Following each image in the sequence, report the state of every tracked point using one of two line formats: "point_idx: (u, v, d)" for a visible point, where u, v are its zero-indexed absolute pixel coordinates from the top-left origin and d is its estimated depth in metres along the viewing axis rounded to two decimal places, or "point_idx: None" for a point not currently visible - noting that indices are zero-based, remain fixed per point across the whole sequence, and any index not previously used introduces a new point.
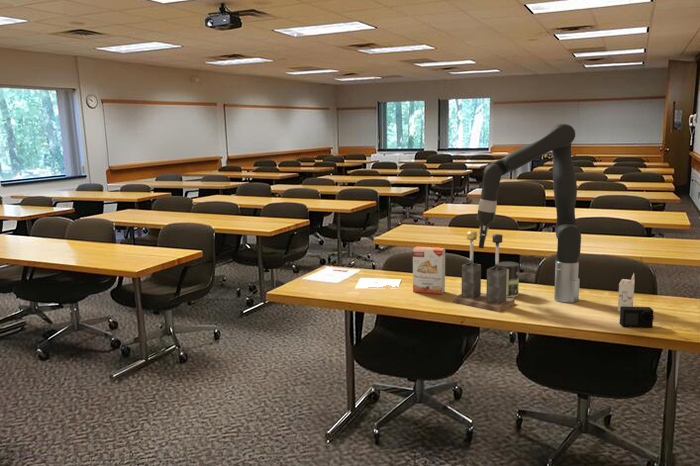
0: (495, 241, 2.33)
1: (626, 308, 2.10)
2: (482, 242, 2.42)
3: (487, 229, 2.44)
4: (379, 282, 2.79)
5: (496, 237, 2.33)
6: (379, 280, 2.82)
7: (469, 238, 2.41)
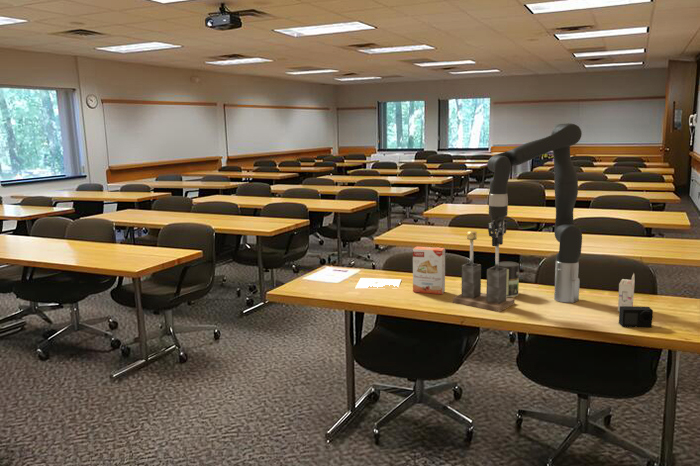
0: None
1: (625, 308, 2.11)
2: (494, 240, 2.32)
3: (498, 225, 2.31)
4: (379, 282, 2.79)
5: None
6: (379, 280, 2.82)
7: (469, 238, 2.41)
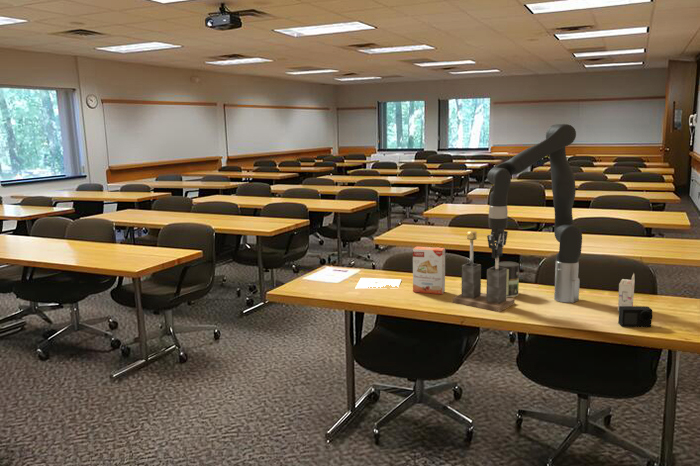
0: None
1: (625, 308, 2.11)
2: (494, 251, 2.33)
3: (498, 237, 2.32)
4: (379, 282, 2.79)
5: None
6: (379, 280, 2.82)
7: (469, 238, 2.41)
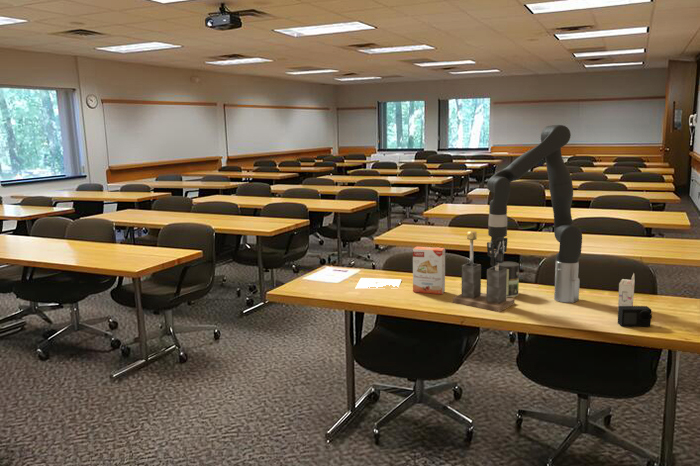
0: None
1: (624, 308, 2.11)
2: (492, 259, 2.33)
3: (497, 245, 2.32)
4: (379, 282, 2.79)
5: (496, 256, 2.34)
6: (379, 280, 2.82)
7: (469, 238, 2.41)
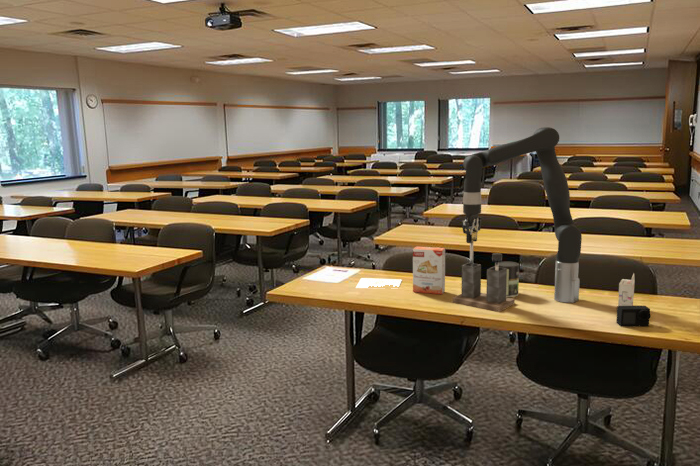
0: (495, 260, 2.35)
1: (623, 307, 2.11)
2: (468, 237, 2.40)
3: (472, 223, 2.39)
4: (380, 282, 2.79)
5: (496, 256, 2.34)
6: (379, 280, 2.82)
7: None
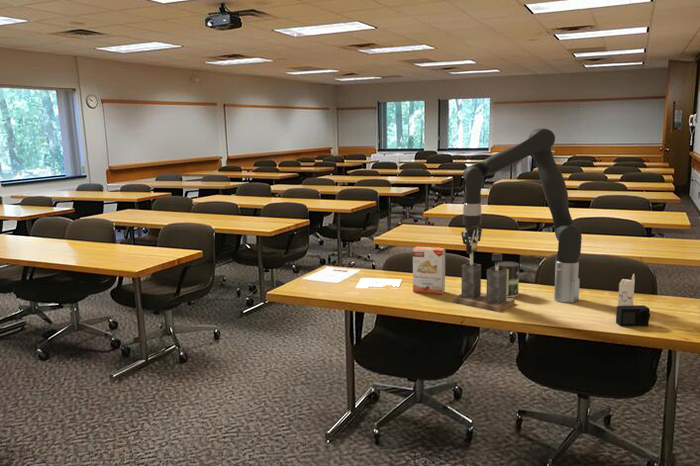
0: (495, 260, 2.35)
1: (623, 307, 2.11)
2: (468, 247, 2.41)
3: (472, 234, 2.40)
4: (380, 282, 2.79)
5: (496, 256, 2.34)
6: (379, 280, 2.82)
7: None
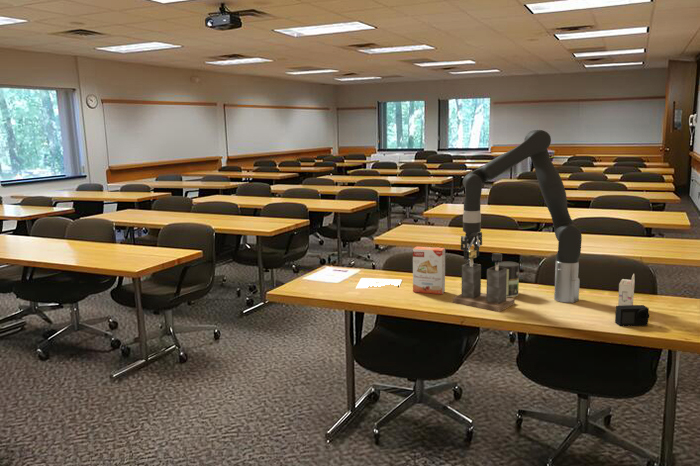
0: (495, 260, 2.35)
1: (622, 307, 2.12)
2: (465, 253, 2.40)
3: (471, 240, 2.40)
4: (380, 282, 2.79)
5: (496, 256, 2.34)
6: (380, 280, 2.82)
7: (469, 257, 2.43)
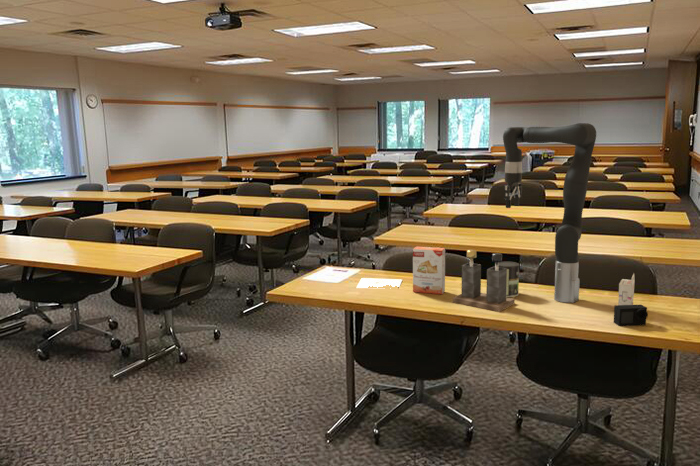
0: (495, 260, 2.35)
1: (621, 307, 2.12)
2: (507, 202, 2.56)
3: (513, 189, 2.56)
4: (380, 282, 2.79)
5: (496, 256, 2.34)
6: (380, 280, 2.82)
7: (469, 257, 2.43)
